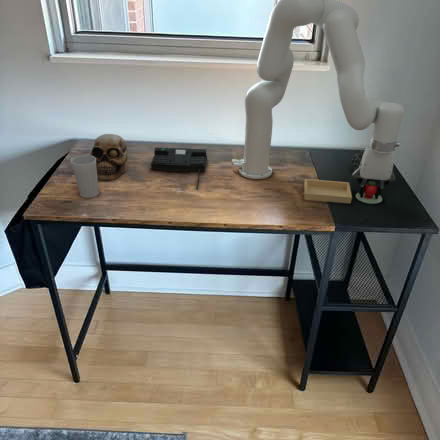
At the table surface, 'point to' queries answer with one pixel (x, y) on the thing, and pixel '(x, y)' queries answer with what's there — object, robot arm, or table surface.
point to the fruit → (357, 160)
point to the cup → (86, 175)
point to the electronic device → (180, 160)
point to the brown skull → (109, 156)
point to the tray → (327, 191)
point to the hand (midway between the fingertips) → (368, 196)
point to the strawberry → (370, 189)
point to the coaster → (367, 200)
